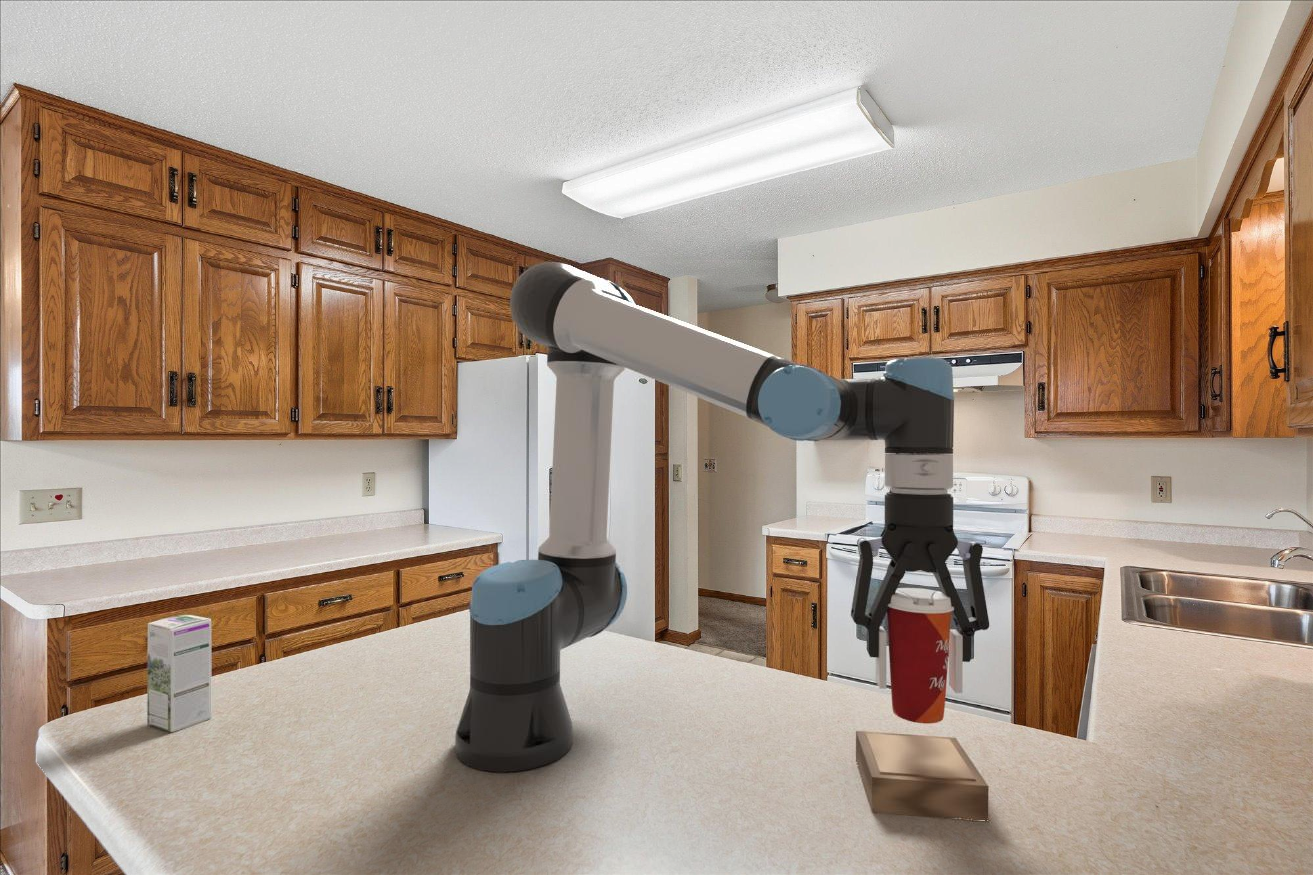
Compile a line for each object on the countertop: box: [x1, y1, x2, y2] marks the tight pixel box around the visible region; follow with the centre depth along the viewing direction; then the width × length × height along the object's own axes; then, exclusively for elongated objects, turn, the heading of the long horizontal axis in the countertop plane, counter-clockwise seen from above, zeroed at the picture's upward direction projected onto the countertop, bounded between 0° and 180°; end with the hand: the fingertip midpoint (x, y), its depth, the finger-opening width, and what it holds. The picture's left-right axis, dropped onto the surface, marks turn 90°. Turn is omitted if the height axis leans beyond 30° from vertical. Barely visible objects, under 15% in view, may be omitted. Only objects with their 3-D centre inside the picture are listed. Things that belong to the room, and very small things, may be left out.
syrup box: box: [146, 614, 212, 733], centre depth 95 cm, size 6×6×14 cm
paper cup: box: [886, 587, 954, 725], centre depth 79 cm, size 8×8×14 cm
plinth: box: [855, 730, 989, 821], centre depth 79 cm, size 12×12×4 cm
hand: (917, 686), depth 79 cm, fingers closed on paper cup, 8 cm apart
